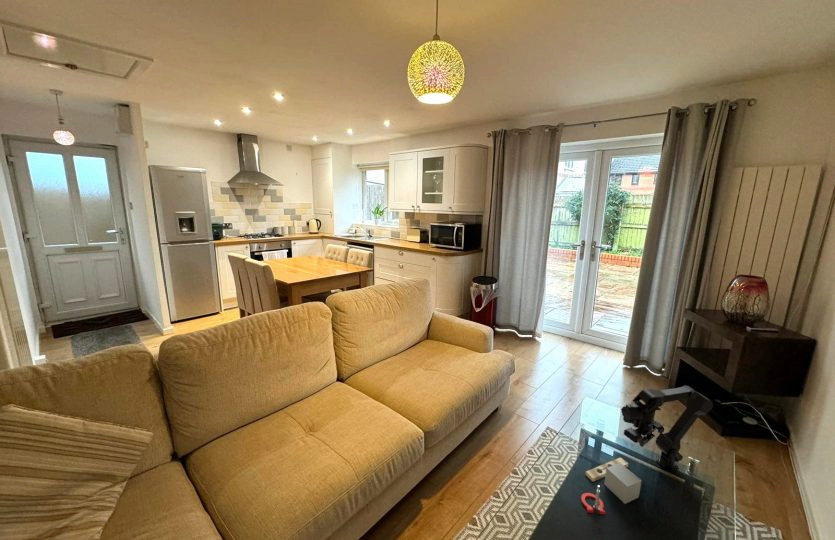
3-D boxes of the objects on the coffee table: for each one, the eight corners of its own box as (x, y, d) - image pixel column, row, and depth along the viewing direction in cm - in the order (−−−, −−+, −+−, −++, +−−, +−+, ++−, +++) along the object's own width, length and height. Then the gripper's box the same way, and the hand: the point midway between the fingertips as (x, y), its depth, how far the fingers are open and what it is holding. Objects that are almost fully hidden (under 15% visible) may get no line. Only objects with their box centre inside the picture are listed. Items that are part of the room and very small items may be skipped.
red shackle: (578, 493, 142) (585, 513, 133) (580, 468, 139) (588, 486, 130) (598, 496, 141) (607, 516, 132) (601, 470, 138) (610, 489, 129)
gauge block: (617, 478, 148) (619, 462, 146) (638, 497, 139) (641, 480, 137) (604, 484, 145) (606, 468, 143) (625, 504, 136) (627, 486, 134)
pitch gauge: (620, 460, 158) (620, 457, 157) (627, 466, 154) (628, 463, 154) (585, 474, 151) (586, 471, 150) (592, 481, 147) (593, 478, 146)
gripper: (643, 401, 157) (638, 429, 161) (615, 411, 151) (611, 439, 155) (667, 416, 147) (662, 445, 151) (638, 427, 141) (633, 457, 145)
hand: (641, 446), depth 151 cm, fingers closed
